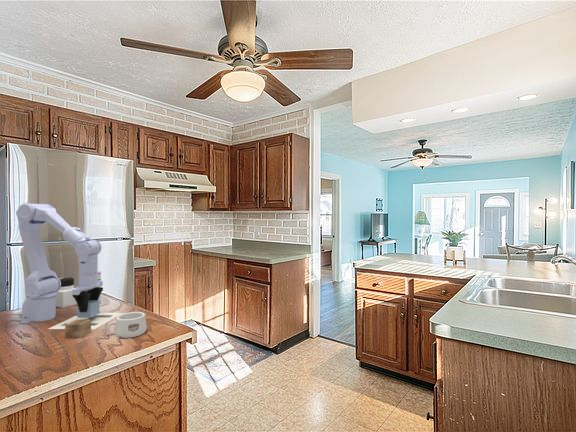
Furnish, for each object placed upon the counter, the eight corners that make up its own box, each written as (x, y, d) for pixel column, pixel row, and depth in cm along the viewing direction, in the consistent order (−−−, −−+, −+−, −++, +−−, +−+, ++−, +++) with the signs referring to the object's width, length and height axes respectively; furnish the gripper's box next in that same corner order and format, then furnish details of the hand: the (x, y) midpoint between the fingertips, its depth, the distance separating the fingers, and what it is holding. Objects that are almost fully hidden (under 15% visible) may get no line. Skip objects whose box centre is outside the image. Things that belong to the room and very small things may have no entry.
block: (65, 340, 98) (65, 324, 98) (75, 334, 103) (76, 319, 103) (80, 340, 98) (80, 324, 98) (90, 334, 103) (91, 319, 103)
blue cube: (77, 317, 112) (77, 303, 112) (86, 313, 117) (86, 300, 117) (91, 317, 112) (91, 303, 112) (99, 313, 117) (99, 300, 117)
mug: (142, 326, 111) (142, 309, 111) (149, 334, 103) (149, 316, 103) (104, 333, 104) (104, 315, 104) (108, 343, 96) (108, 323, 96)
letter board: (47, 331, 105) (47, 328, 105) (82, 314, 123) (82, 312, 123) (94, 331, 105) (94, 329, 105) (122, 314, 123) (122, 312, 123)
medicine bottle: (79, 303, 138) (79, 277, 138) (62, 308, 132) (63, 280, 132) (67, 302, 141) (68, 276, 141) (51, 306, 134) (51, 278, 134)
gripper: (86, 276, 107) (86, 316, 107) (110, 269, 122) (110, 304, 122) (66, 276, 107) (66, 316, 107) (92, 269, 122) (92, 304, 122)
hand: (88, 309), depth 114 cm, fingers closed on blue cube, 5 cm apart
